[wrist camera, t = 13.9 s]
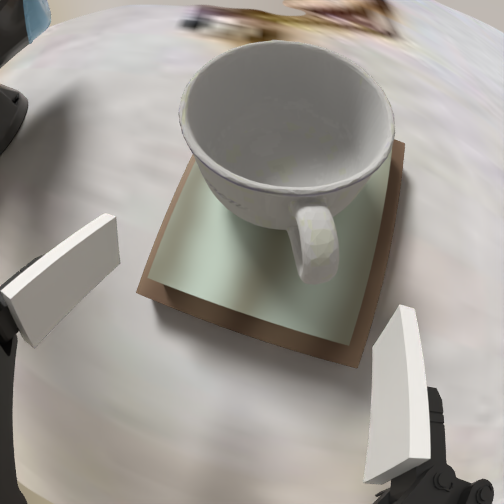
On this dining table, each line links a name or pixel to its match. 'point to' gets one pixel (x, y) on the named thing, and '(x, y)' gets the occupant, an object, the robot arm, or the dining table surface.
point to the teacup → (288, 140)
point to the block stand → (275, 268)
